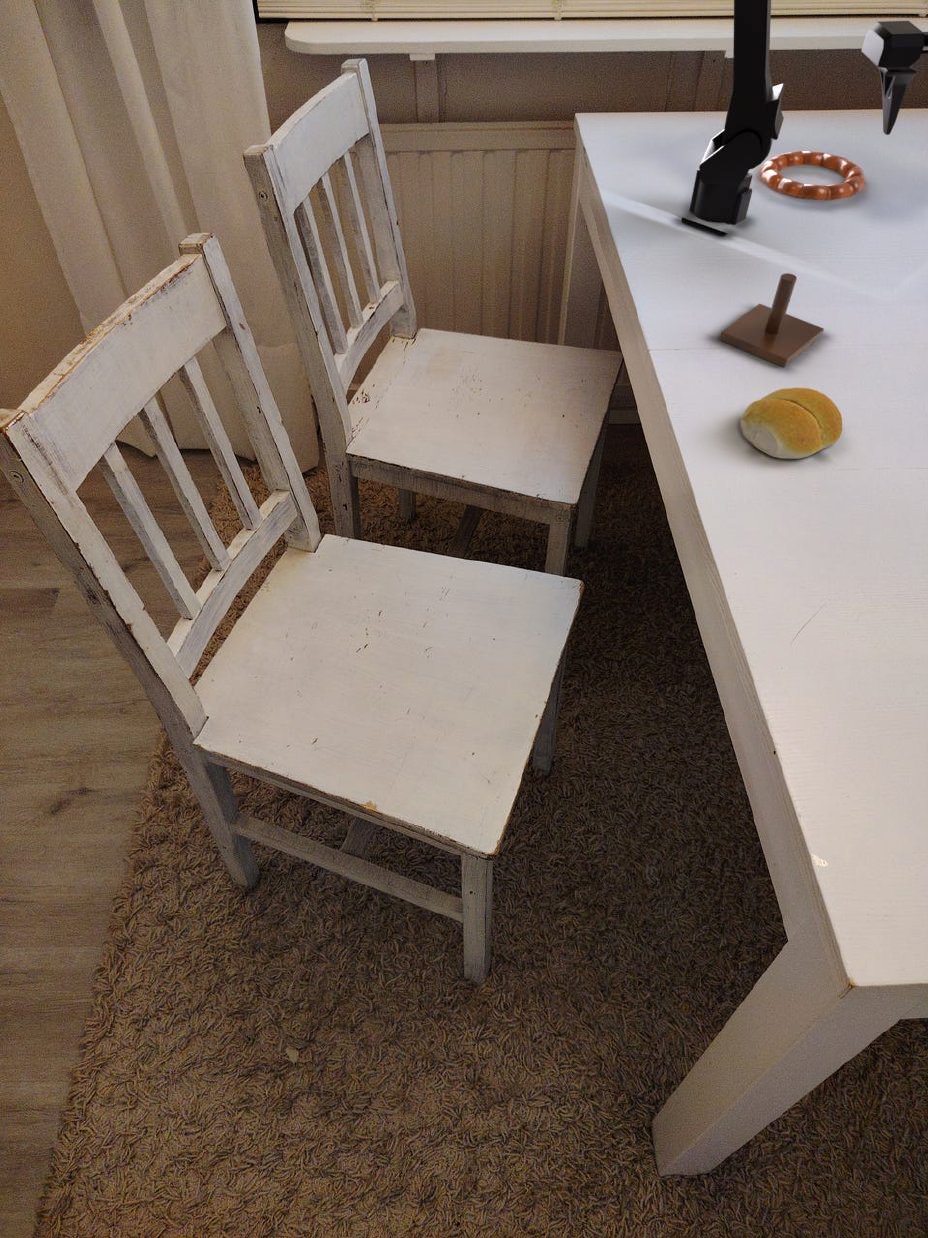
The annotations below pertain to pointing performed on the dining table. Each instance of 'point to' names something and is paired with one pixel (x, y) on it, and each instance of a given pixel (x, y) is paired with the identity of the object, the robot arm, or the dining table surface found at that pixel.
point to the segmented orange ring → (818, 192)
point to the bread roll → (792, 423)
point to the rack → (773, 329)
